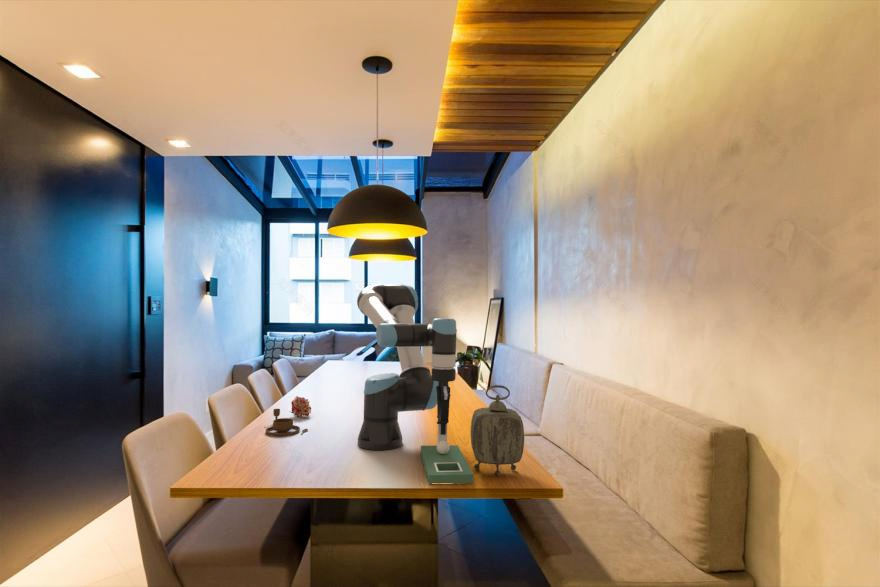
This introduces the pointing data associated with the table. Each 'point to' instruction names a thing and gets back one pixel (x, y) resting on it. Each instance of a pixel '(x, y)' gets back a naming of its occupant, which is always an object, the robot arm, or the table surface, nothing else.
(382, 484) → the table surface
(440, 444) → the ball
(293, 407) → the flower
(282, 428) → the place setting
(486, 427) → the tabletop clock
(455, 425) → the table surface
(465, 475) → the green slotted plate
